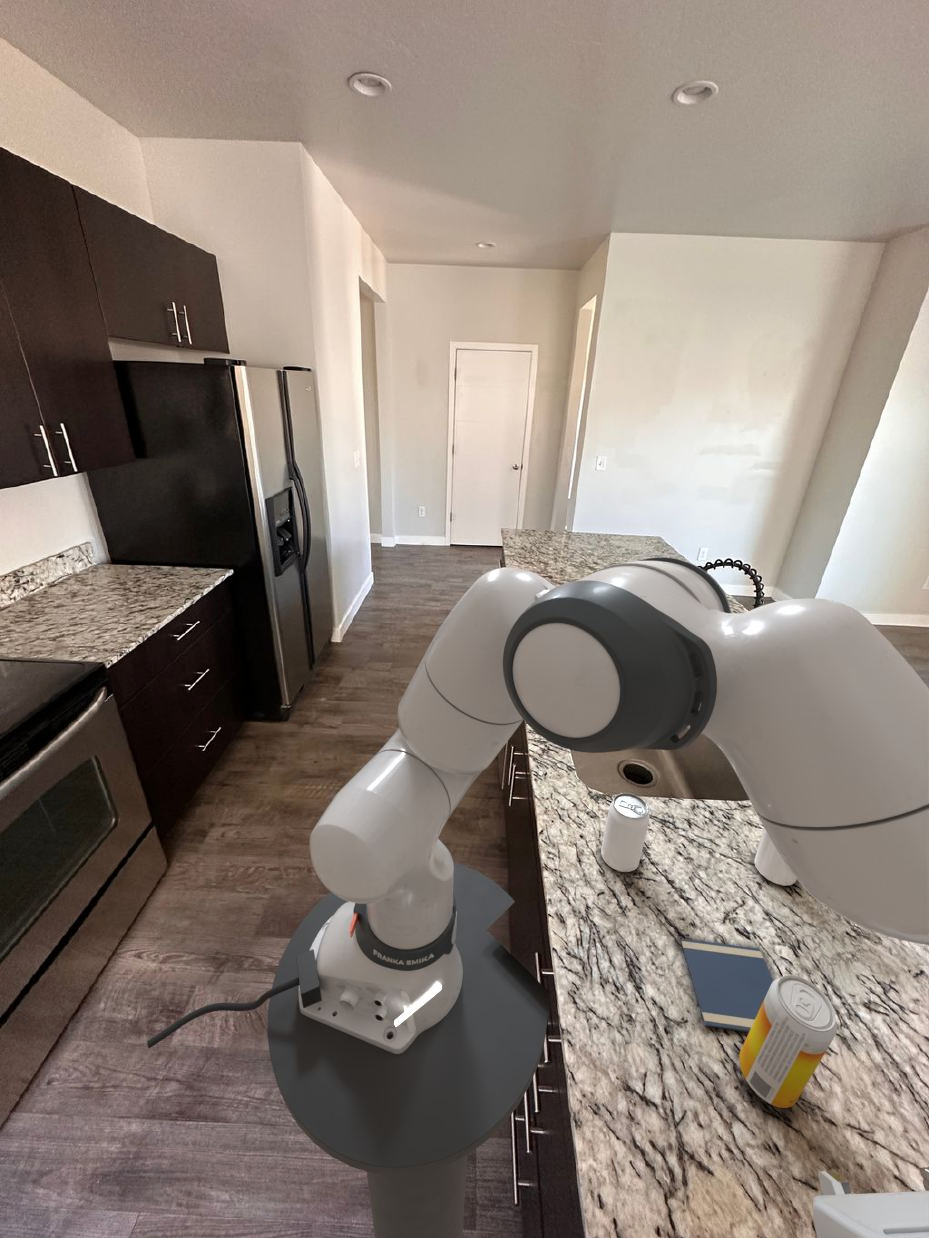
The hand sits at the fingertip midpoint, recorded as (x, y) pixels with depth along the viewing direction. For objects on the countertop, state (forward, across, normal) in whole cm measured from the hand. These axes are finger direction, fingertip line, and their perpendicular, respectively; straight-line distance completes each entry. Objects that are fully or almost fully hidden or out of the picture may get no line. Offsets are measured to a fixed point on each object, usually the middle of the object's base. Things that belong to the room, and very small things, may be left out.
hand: (878, 1180), depth 42 cm
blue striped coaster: (+22, -3, -8) cm, 24 cm away
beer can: (+16, -1, -1) cm, 16 cm away
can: (+37, +6, -23) cm, 44 cm away
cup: (+34, -20, -22) cm, 45 cm away
